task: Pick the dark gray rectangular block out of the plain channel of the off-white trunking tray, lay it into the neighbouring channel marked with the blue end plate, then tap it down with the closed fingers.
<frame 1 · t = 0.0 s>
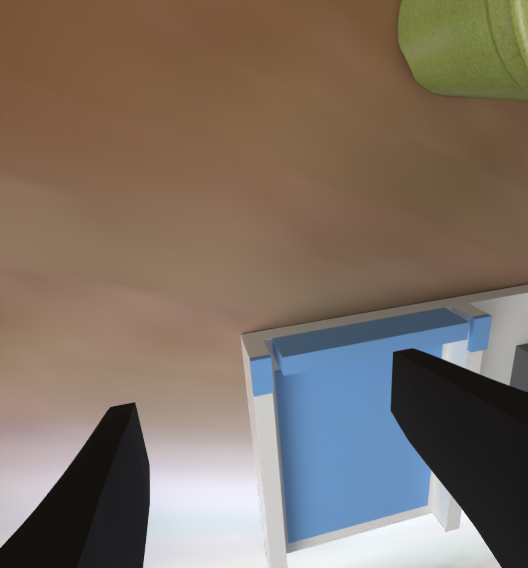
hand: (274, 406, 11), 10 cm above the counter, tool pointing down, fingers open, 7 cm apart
trunking tray: (438, 409, 26), on the counter
plant pot: (452, 23, 19), on the counter
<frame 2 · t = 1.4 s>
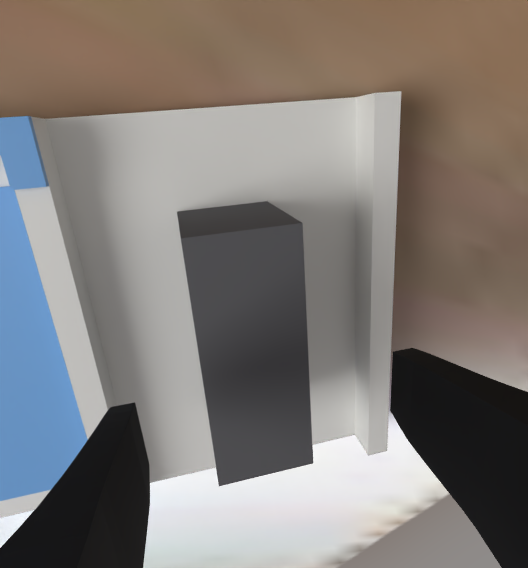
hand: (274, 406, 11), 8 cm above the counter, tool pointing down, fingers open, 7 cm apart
trunking tray: (90, 326, 17), on the counter
dark gray rectangular block: (234, 312, 17), point 1 cm above the counter, touching trunking tray
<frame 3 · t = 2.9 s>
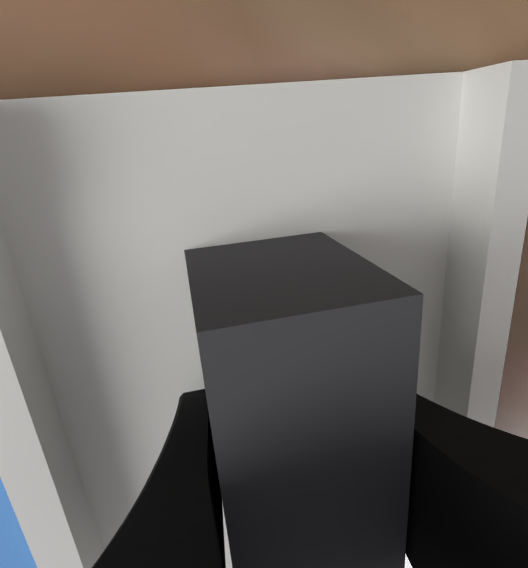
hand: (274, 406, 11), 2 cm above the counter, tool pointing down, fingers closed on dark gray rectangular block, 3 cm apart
trunking tray: (55, 412, 11), on the counter
dark gray rectangular block: (268, 391, 12), point 1 cm above the counter, touching gripper, trunking tray
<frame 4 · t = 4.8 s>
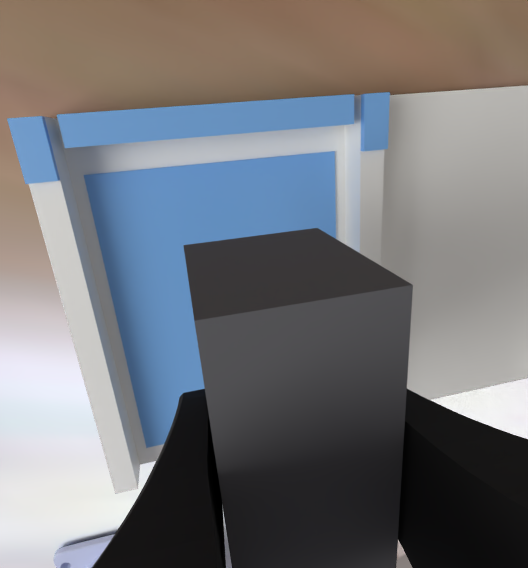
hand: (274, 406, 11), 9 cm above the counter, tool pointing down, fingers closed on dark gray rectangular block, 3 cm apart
trunking tray: (346, 274, 20), on the counter
dark gray rectangular block: (265, 384, 12), point 8 cm above the counter, touching gripper
when the fingers open (3 cm above the counter, at t = 6.7 s): dark gray rectangular block stays where it is, resting on trunking tray.
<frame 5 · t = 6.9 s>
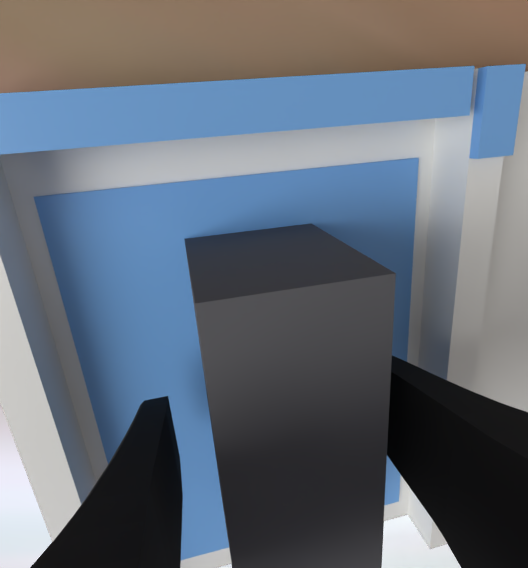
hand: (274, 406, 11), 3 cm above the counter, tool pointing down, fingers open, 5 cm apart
trunking tray: (416, 326, 15), on the counter
dark gray rectangular block: (261, 373, 12), point 1 cm above the counter, touching trunking tray
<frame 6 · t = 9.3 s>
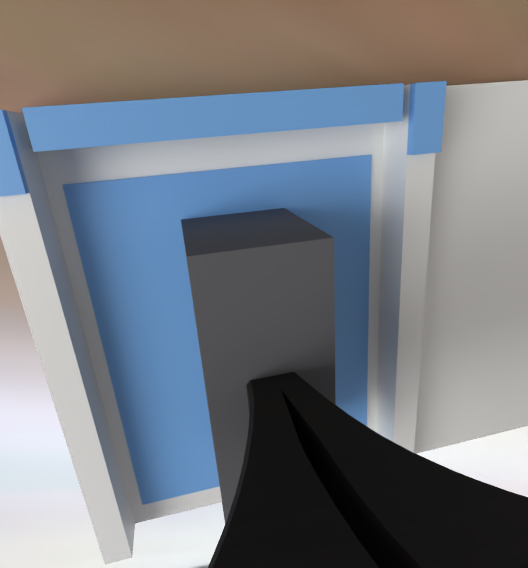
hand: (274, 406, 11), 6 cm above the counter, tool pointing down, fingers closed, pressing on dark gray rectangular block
trunking tray: (378, 298, 17), on the counter
dark gray rectangular block: (245, 333, 15), point 1 cm above the counter, touching gripper, trunking tray
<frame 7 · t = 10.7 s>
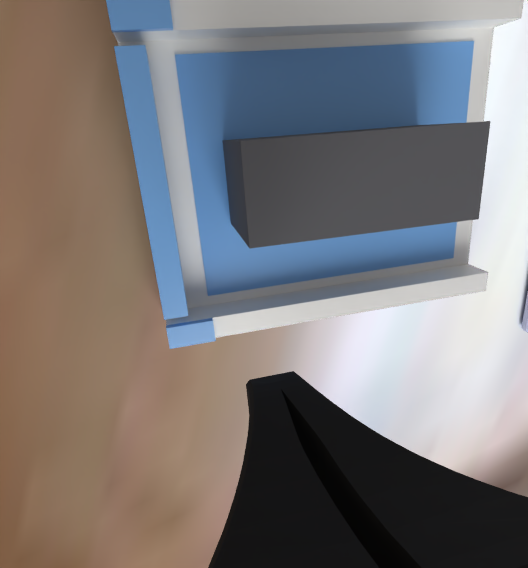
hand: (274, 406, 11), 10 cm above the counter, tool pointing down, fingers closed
trunking tray: (313, 26, 17), on the counter
dark gray rectangular block: (325, 173, 18), point 1 cm above the counter, touching trunking tray
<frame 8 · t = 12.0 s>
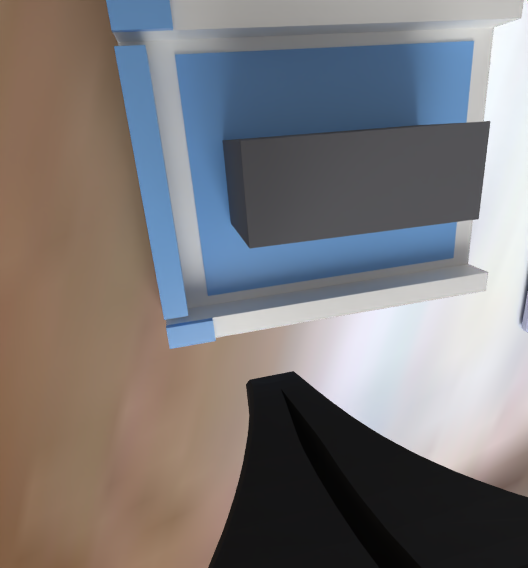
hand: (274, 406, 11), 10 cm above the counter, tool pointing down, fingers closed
trunking tray: (313, 26, 17), on the counter
dark gray rectangular block: (325, 173, 18), point 1 cm above the counter, touching trunking tray
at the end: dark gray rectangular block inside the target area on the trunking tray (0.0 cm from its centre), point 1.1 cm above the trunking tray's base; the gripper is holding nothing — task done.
